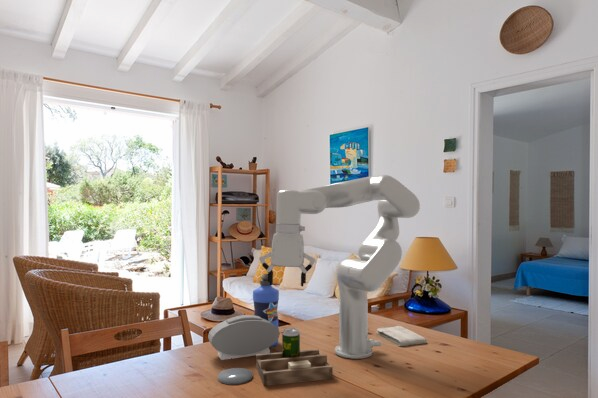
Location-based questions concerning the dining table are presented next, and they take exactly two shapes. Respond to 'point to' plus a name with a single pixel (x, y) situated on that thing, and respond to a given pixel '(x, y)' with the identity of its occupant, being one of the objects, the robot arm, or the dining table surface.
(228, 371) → the grey glossy dome
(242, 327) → the alarm clock
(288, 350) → the beer can
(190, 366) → the dining table surface
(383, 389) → the dining table surface
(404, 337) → the washcloth
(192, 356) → the dining table surface
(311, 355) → the rack
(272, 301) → the water bottle
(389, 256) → the robot arm
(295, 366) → the top offcut
